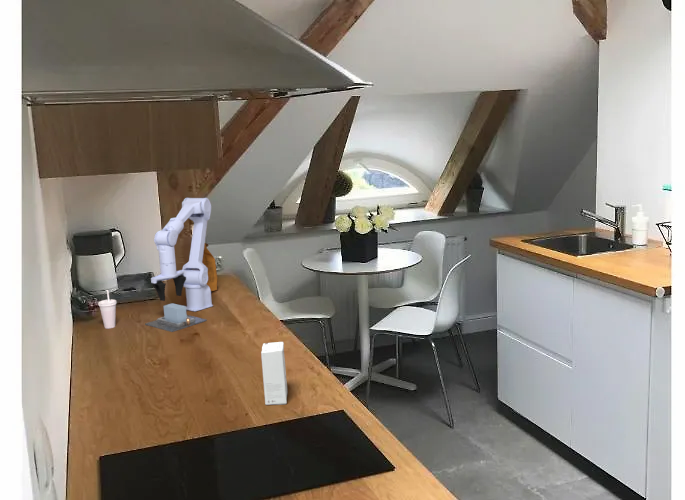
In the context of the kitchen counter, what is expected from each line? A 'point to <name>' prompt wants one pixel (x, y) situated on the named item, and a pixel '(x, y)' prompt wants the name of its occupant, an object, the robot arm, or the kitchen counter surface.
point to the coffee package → (210, 268)
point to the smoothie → (108, 311)
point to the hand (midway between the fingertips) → (170, 298)
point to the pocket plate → (175, 323)
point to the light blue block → (175, 312)
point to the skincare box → (274, 373)
